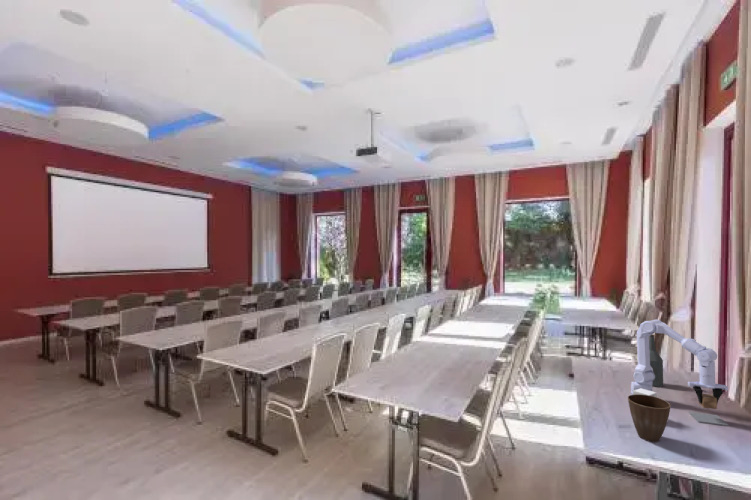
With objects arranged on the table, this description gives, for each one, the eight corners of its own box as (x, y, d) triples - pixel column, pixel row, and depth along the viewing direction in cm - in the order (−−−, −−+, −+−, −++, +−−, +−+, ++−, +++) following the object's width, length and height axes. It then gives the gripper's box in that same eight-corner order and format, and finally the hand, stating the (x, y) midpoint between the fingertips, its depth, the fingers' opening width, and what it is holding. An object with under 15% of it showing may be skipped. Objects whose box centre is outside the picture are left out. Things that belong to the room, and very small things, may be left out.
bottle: (662, 383, 226) (661, 333, 227) (664, 388, 218) (663, 337, 218) (641, 380, 232) (640, 332, 232) (642, 385, 224) (641, 335, 224)
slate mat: (698, 422, 175) (698, 421, 175) (689, 412, 185) (689, 411, 185) (728, 426, 171) (728, 425, 171) (717, 416, 181) (717, 415, 181)
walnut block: (703, 407, 176) (703, 396, 176) (699, 403, 181) (698, 393, 181) (716, 409, 174) (716, 398, 174) (712, 405, 179) (711, 394, 179)
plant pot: (680, 443, 156) (679, 405, 156) (653, 449, 152) (653, 410, 152) (645, 427, 170) (644, 392, 170) (620, 432, 166) (619, 396, 166)
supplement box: (649, 422, 176) (648, 395, 176) (632, 416, 182) (632, 390, 182) (657, 418, 179) (657, 392, 179) (640, 412, 186) (640, 387, 186)
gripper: (691, 375, 177) (692, 404, 177) (730, 379, 171) (731, 408, 171) (685, 371, 183) (686, 398, 183) (723, 374, 178) (724, 402, 178)
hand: (707, 403), depth 178 cm, fingers closed on walnut block, 5 cm apart
